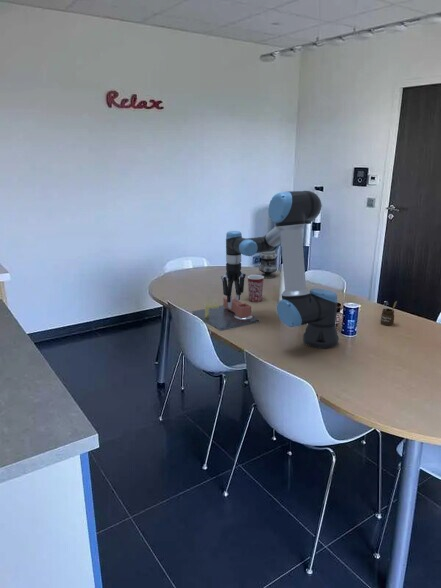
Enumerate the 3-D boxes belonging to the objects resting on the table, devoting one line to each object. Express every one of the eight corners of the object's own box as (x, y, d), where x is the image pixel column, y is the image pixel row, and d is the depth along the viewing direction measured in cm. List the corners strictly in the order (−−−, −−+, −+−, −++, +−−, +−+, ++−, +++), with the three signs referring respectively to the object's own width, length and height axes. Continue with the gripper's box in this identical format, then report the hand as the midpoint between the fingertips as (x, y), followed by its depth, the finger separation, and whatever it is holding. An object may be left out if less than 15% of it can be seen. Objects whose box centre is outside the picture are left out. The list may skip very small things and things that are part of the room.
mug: (259, 303, 249) (260, 279, 245) (244, 301, 253) (244, 277, 249) (268, 297, 260) (268, 274, 256) (253, 295, 264) (254, 272, 260)
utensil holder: (383, 320, 223) (386, 297, 219) (396, 324, 218) (399, 300, 215) (377, 323, 219) (380, 300, 215) (390, 327, 214) (393, 302, 211)
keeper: (217, 317, 228) (217, 302, 226) (219, 321, 222) (218, 306, 220) (204, 318, 227) (204, 302, 225) (205, 322, 222) (205, 306, 219)
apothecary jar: (277, 279, 297) (278, 251, 292) (259, 279, 298) (259, 252, 292) (275, 274, 309) (276, 248, 304) (258, 274, 309) (258, 248, 304)
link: (221, 307, 238) (221, 297, 236) (230, 305, 241) (230, 296, 239) (241, 317, 223) (241, 308, 221) (251, 315, 225) (251, 306, 224)
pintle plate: (260, 321, 222) (260, 319, 222) (220, 330, 211) (220, 328, 211) (229, 306, 245) (229, 303, 245) (192, 313, 234) (192, 311, 234)
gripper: (243, 259, 233) (242, 302, 240) (215, 263, 225) (215, 307, 232) (251, 261, 227) (250, 306, 234) (223, 266, 219) (223, 312, 226)
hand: (233, 307), depth 233 cm, fingers closed on link, 3 cm apart
